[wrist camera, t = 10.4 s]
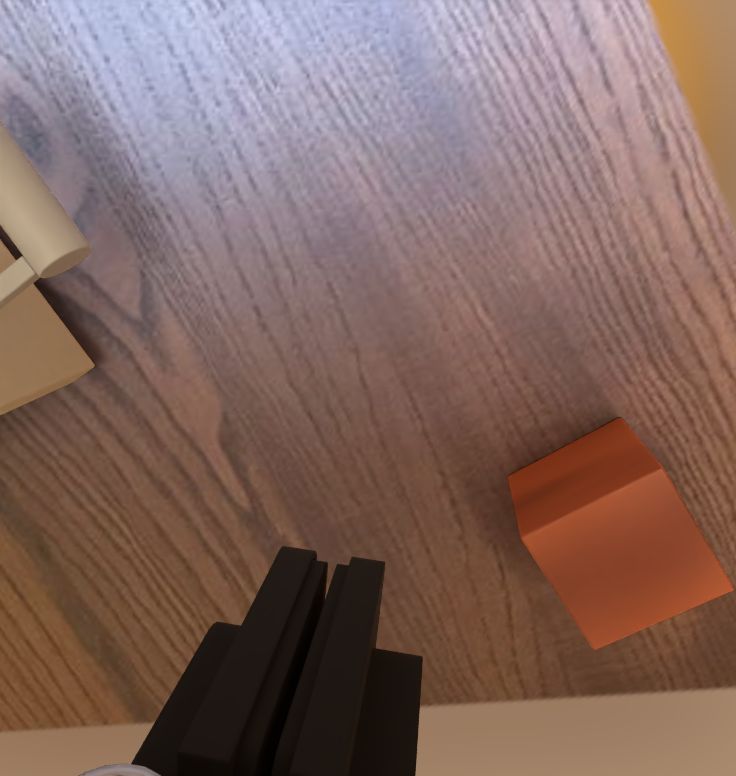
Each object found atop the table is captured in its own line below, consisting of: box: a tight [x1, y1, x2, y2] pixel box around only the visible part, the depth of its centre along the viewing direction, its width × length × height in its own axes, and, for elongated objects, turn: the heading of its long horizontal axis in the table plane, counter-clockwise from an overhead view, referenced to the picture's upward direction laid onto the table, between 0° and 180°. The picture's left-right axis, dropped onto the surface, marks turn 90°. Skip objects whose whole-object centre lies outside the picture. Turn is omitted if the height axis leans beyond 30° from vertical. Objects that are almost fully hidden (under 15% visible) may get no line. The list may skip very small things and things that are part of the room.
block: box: [508, 418, 734, 650], centre depth 20 cm, size 4×4×4 cm
